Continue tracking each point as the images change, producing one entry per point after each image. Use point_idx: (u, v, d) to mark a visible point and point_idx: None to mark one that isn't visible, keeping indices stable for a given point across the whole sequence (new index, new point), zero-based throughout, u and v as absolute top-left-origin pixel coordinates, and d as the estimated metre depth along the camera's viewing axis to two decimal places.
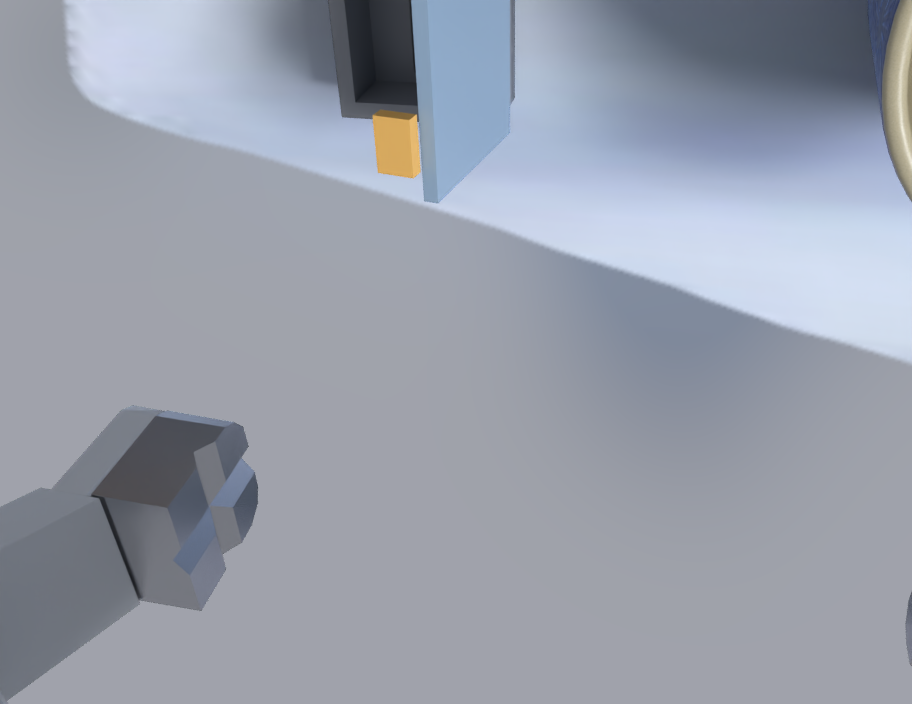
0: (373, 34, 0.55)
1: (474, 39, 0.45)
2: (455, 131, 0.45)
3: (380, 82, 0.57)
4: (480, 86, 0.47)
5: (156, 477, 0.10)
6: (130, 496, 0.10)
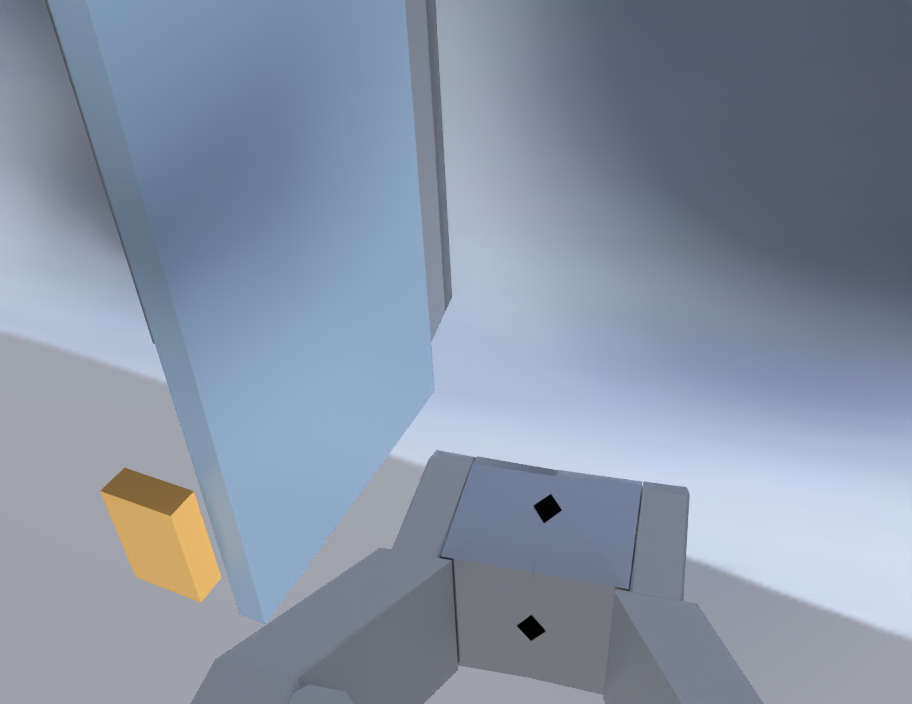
0: None
1: (334, 295, 0.22)
2: (300, 477, 0.22)
3: None
4: (357, 364, 0.24)
5: (505, 535, 0.09)
6: (483, 557, 0.09)
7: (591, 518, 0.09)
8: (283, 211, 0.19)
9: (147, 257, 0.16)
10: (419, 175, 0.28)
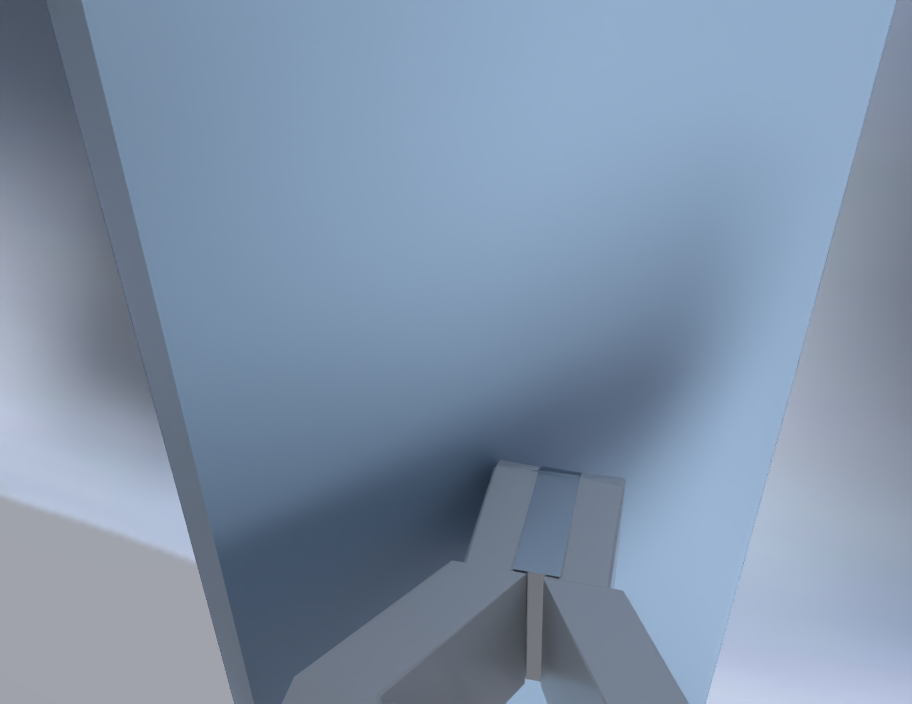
0: None
1: None
2: None
3: None
4: None
5: (579, 548, 0.09)
6: (558, 571, 0.09)
7: (527, 508, 0.09)
8: None
9: (235, 663, 0.09)
10: None
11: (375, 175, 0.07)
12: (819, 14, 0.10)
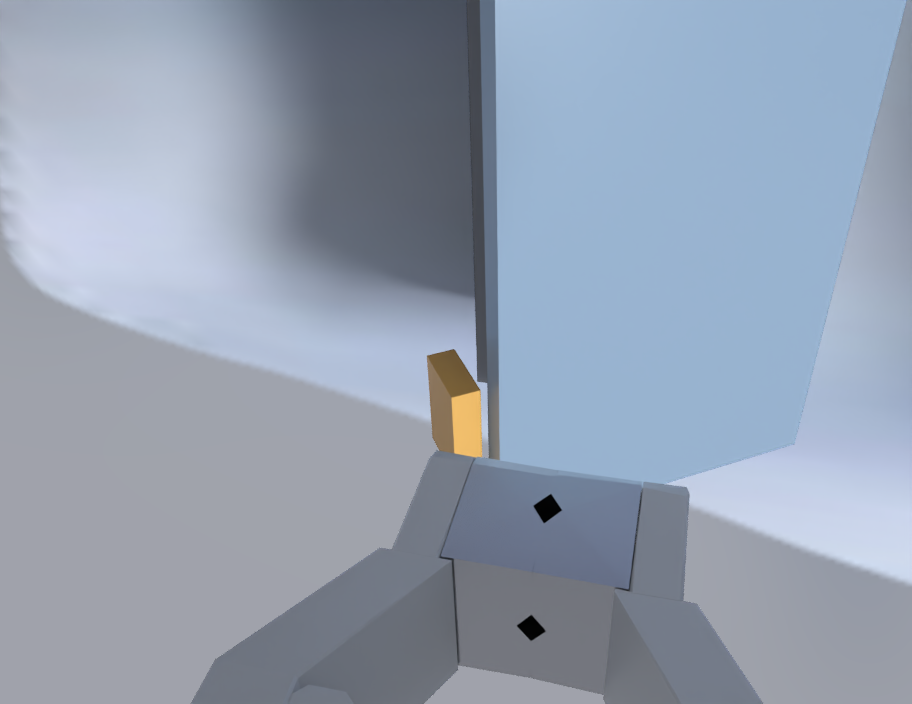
0: None
1: (684, 292, 0.22)
2: (583, 434, 0.24)
3: None
4: (692, 369, 0.24)
5: (505, 535, 0.09)
6: (483, 557, 0.09)
7: (591, 518, 0.09)
8: (647, 193, 0.20)
9: (491, 181, 0.19)
10: None
11: None
12: None
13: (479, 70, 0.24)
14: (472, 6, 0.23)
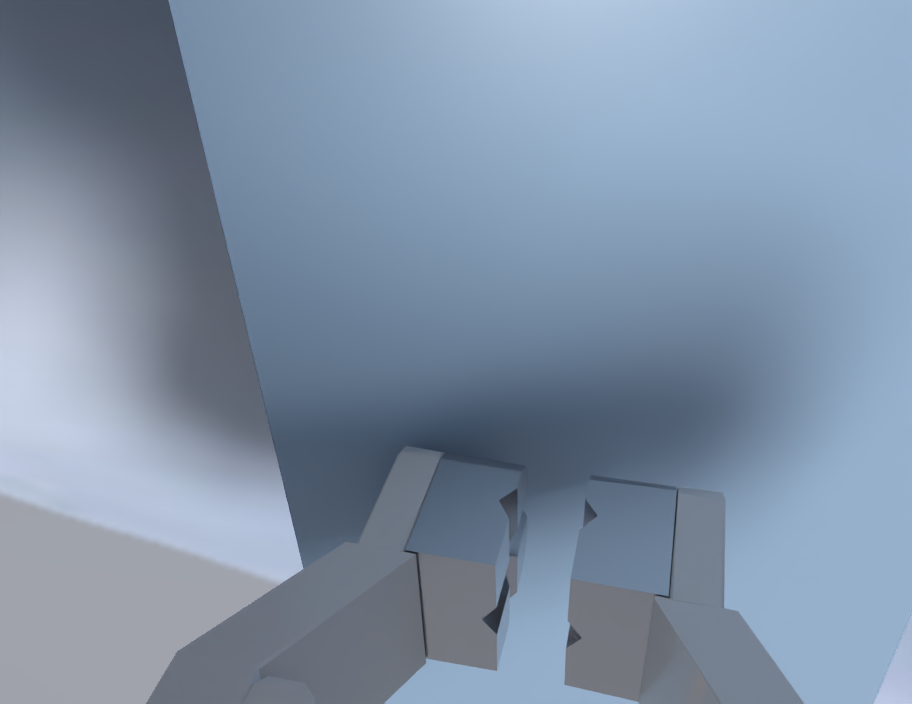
0: None
1: None
2: None
3: None
4: None
5: (470, 530, 0.09)
6: (447, 551, 0.09)
7: (627, 524, 0.09)
8: (579, 502, 0.12)
9: None
10: None
11: (417, 69, 0.08)
12: None
13: None
14: None
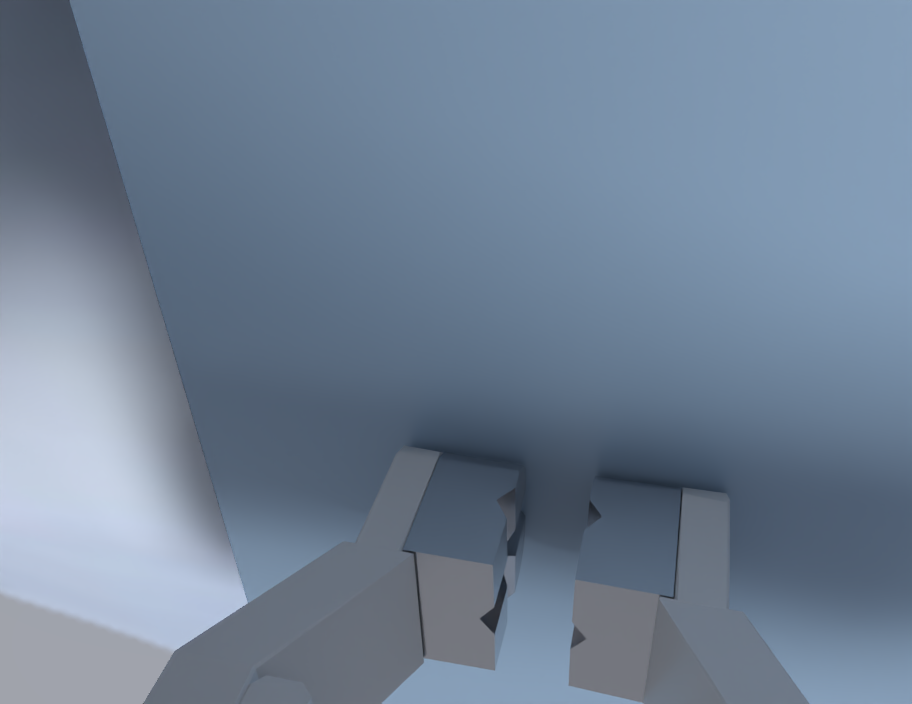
0: None
1: (578, 693, 0.13)
2: None
3: None
4: None
5: (468, 529, 0.09)
6: (445, 551, 0.09)
7: (632, 525, 0.09)
8: None
9: None
10: None
11: (274, 52, 0.08)
12: None
13: None
14: None
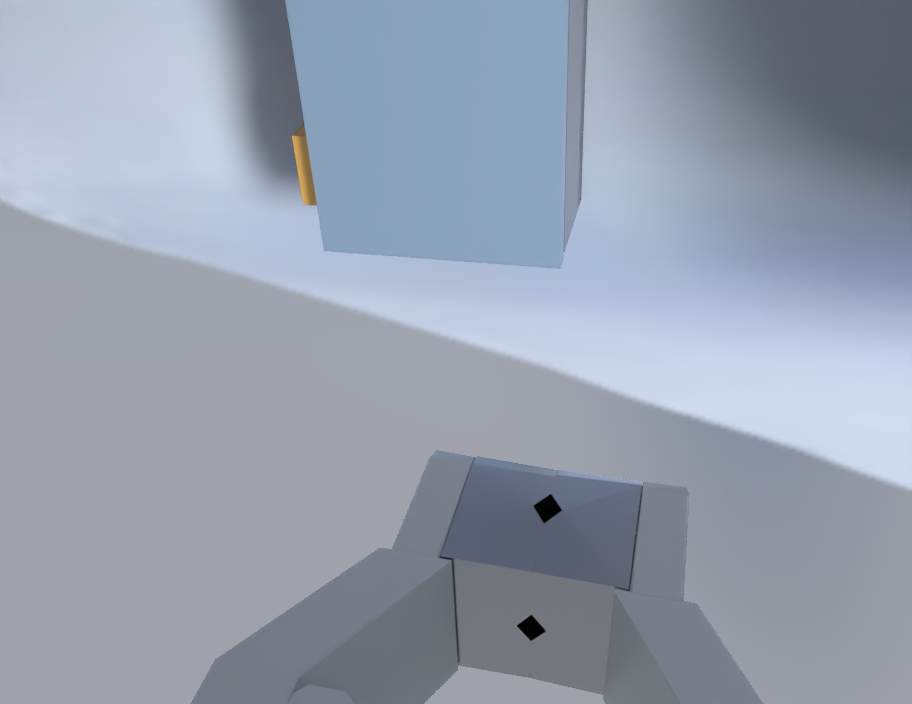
0: None
1: (429, 94, 0.32)
2: (371, 189, 0.35)
3: None
4: (449, 162, 0.33)
5: (505, 535, 0.09)
6: (483, 557, 0.09)
7: (591, 518, 0.09)
8: (385, 6, 0.30)
9: None
10: (576, 75, 0.33)
11: None
12: None
13: None
14: None
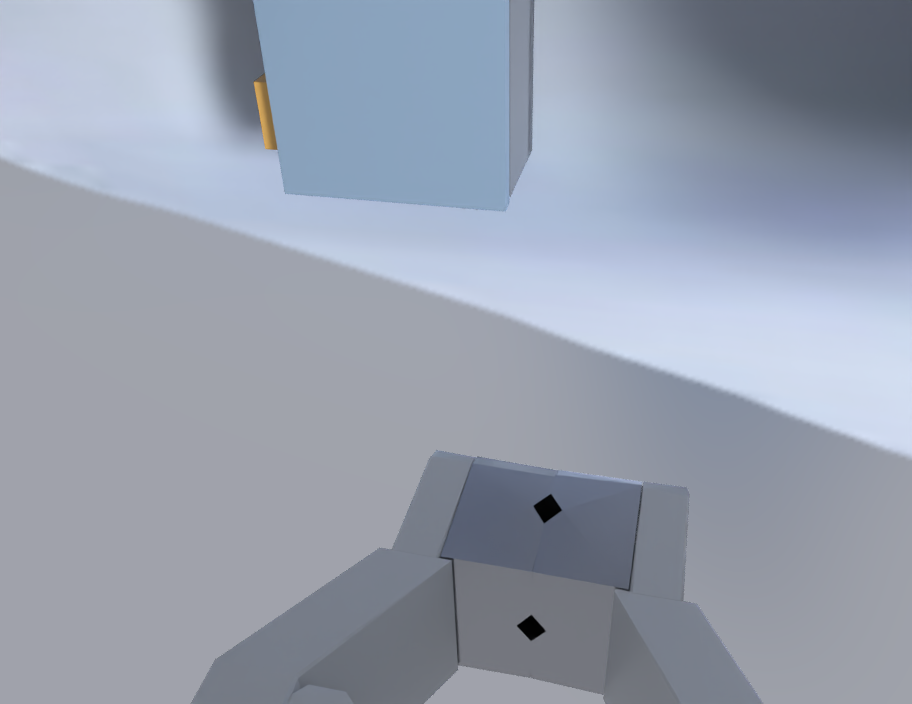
0: None
1: (381, 41, 0.34)
2: (328, 133, 0.37)
3: None
4: (400, 108, 0.35)
5: (505, 536, 0.09)
6: (483, 558, 0.09)
7: (591, 518, 0.09)
8: None
9: None
10: (521, 27, 0.35)
11: None
12: None
13: None
14: None
